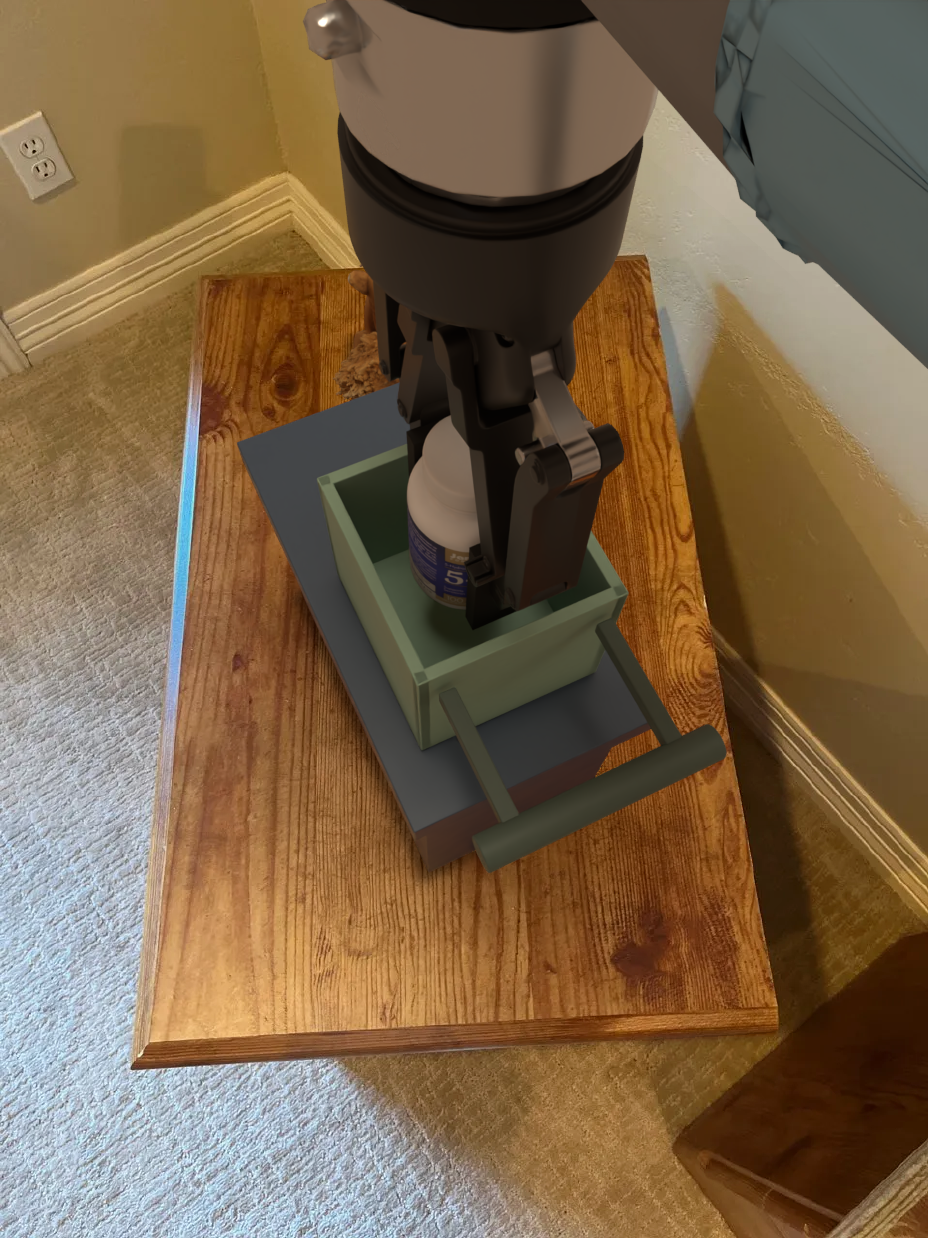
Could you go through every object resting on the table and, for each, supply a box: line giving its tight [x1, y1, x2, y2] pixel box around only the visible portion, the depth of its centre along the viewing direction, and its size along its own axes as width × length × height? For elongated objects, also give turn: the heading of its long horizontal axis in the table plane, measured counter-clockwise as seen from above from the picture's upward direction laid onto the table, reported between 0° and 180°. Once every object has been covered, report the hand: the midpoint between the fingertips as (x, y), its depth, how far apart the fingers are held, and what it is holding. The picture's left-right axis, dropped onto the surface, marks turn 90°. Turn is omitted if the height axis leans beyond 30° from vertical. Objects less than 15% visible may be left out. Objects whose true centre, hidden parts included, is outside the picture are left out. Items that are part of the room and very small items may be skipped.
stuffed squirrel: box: [332, 263, 406, 401], centre depth 75 cm, size 10×14×13 cm
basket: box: [317, 444, 728, 874], centre depth 45 cm, size 19×11×10 cm, turn 26°
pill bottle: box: [407, 415, 480, 610], centre depth 40 cm, size 5×5×9 cm
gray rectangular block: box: [236, 382, 652, 874], centre depth 61 cm, size 25×14×20 cm, turn 26°
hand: (467, 558), depth 44 cm, fingers closed on pill bottle, 5 cm apart
